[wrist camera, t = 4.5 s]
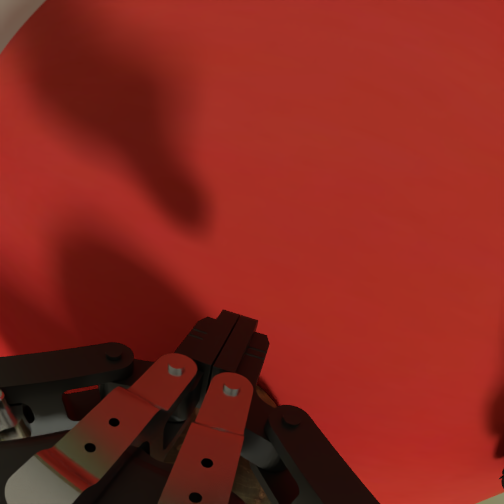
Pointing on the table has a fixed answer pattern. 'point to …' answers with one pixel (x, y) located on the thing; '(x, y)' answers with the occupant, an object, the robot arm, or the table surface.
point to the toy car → (502, 478)
